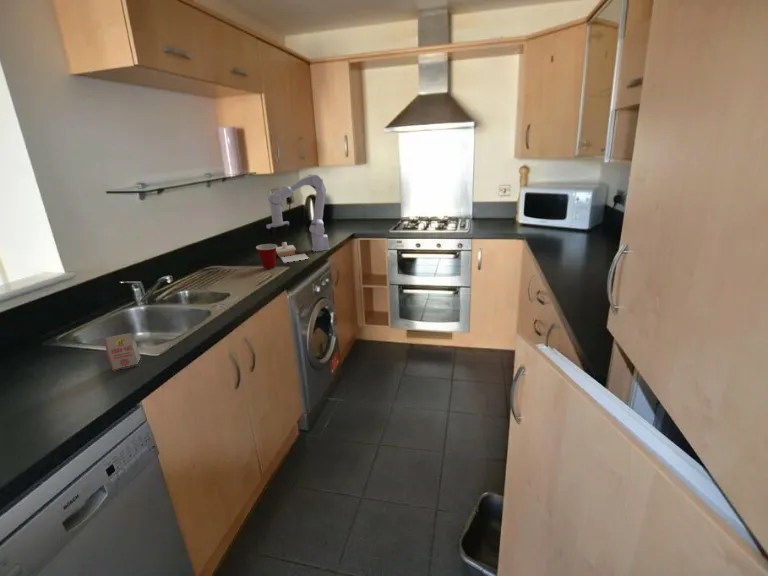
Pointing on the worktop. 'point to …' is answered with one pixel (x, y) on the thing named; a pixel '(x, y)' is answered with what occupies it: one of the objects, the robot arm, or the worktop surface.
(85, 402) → the worktop surface
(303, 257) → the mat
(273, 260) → the plastic cup
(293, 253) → the block
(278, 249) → the lid
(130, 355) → the beige cardboard box
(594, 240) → the worktop surface
